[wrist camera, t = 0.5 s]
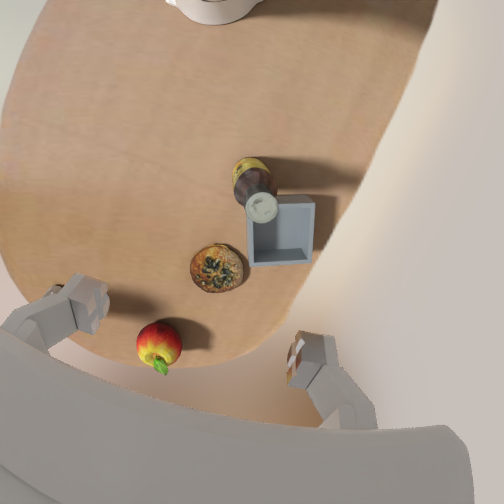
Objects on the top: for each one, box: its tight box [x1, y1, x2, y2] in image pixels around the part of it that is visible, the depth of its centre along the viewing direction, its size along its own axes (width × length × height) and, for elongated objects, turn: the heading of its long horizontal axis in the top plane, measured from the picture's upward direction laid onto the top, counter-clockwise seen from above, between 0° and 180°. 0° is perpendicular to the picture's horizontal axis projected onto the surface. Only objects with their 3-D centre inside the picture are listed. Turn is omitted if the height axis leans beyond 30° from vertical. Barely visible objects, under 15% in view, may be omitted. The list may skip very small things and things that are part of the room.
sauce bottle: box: [232, 157, 279, 223], centre depth 43 cm, size 7×6×20 cm
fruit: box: [137, 323, 182, 375], centre depth 61 cm, size 11×11×10 cm
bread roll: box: [190, 244, 243, 293], centre depth 58 cm, size 11×11×5 cm
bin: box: [246, 194, 315, 267], centre depth 54 cm, size 12×12×6 cm
